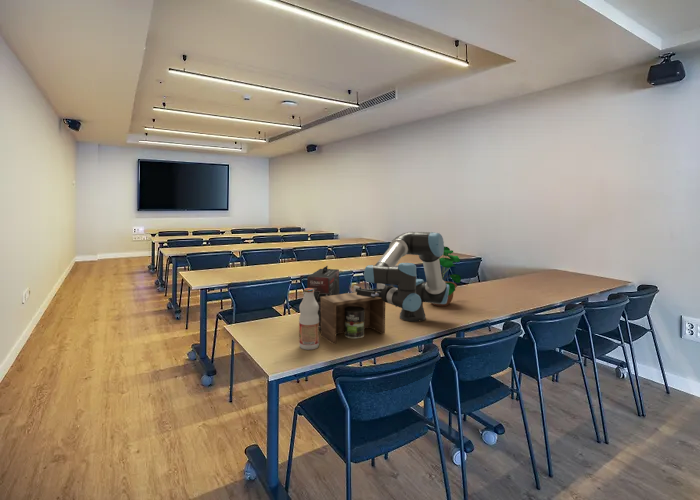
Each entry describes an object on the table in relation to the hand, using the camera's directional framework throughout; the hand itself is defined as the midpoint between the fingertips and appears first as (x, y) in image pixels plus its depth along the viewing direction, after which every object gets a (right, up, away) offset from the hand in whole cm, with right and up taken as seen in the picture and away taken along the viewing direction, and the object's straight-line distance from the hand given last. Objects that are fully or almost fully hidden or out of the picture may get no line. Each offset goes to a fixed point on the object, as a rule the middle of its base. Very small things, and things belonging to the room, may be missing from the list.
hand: (365, 286), depth 188 cm
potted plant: (+57, -20, +73) cm, 95 cm away
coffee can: (-6, -27, +12) cm, 30 cm away
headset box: (-22, -24, +30) cm, 45 cm away
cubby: (-6, -26, +13) cm, 30 cm away
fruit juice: (-27, -28, -4) cm, 39 cm away
